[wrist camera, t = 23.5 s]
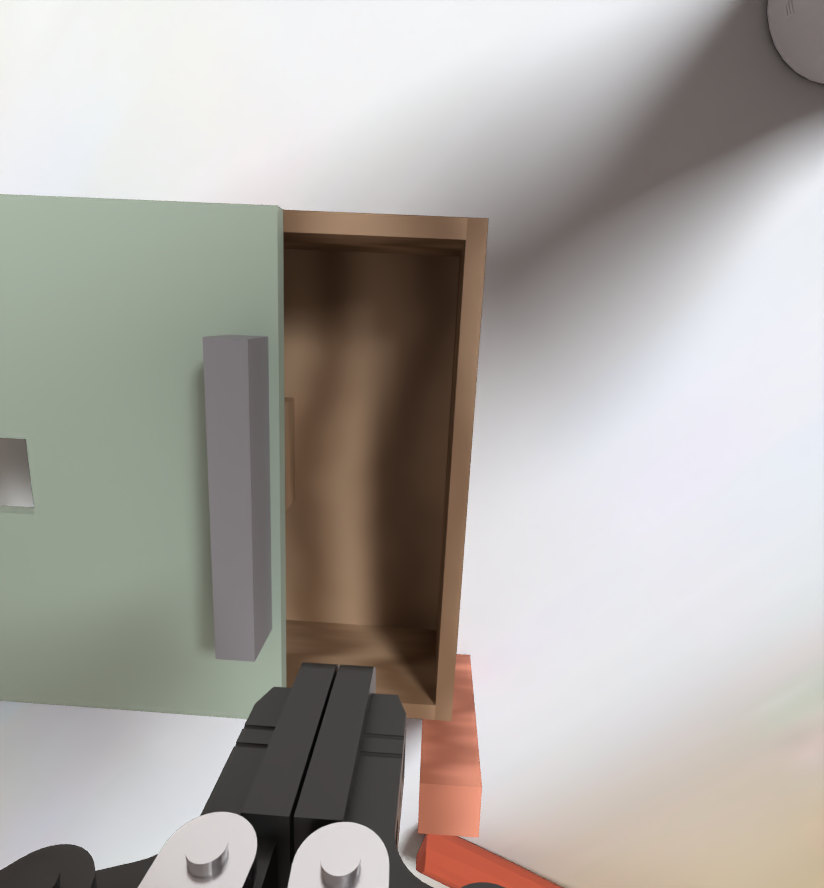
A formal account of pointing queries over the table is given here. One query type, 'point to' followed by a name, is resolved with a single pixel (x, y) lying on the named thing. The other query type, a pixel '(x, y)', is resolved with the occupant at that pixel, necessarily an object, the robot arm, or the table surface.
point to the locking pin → (451, 765)
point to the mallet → (471, 865)
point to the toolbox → (379, 443)
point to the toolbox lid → (143, 454)
